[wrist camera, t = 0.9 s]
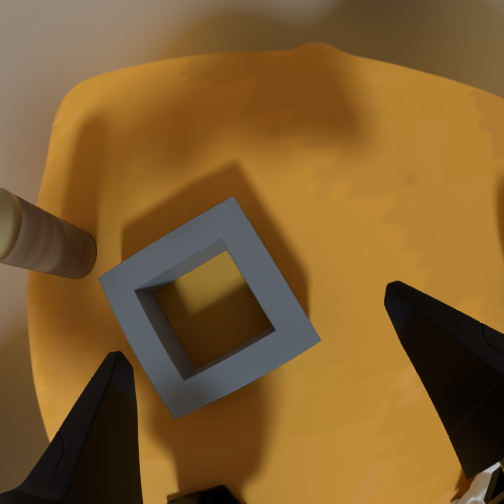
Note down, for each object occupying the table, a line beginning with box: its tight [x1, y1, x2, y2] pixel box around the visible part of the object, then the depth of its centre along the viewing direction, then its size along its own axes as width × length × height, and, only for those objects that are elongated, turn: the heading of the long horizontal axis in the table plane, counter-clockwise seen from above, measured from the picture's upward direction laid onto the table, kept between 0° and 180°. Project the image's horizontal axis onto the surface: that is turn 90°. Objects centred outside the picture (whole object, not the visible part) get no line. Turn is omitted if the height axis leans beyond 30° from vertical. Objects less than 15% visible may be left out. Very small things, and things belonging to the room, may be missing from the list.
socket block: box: [99, 196, 321, 419], centre depth 20 cm, size 11×11×4 cm
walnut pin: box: [0, 188, 97, 279], centre depth 18 cm, size 4×4×11 cm
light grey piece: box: [451, 462, 500, 504], centre depth 14 cm, size 6×8×12 cm
